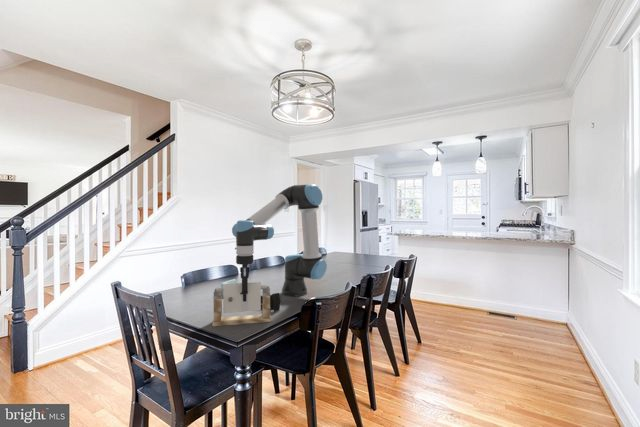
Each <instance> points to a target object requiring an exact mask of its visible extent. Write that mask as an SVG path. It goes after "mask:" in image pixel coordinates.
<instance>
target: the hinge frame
mask: <svg viewBox="0 0 640 427" xmlns="http://www.w3.org/2000/svg"><path fill="white" fill-rule="evenodd" d="M270 295H271V288H270V286H269V285H267V289H262V296H263V302H262V304H261V305H262V308H261V309H262V312H261V314H251V315H250V314H249V315H240V316H239V315H237V316H224V317H223V295H222V291H216V288H215V289H214V291H213V320H212V326H211V327H220V326H222V327H223V326H232V325H245V324H246V325H247V324H248V325H249V324H257V323H258V324H259V323H270V322H272V316H271V308H270Z"/></svg>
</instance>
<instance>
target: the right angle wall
mask: <svg viewBox="0 0 640 427" xmlns="http://www.w3.org/2000/svg"><path fill="white" fill-rule="evenodd" d="M233 283H237V280H236V278H234V279H230V280H226V281H222V282H221V283H220V288H223V286H224V284H233ZM222 296H223V291H222Z"/></svg>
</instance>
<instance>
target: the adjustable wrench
mask: <svg viewBox="0 0 640 427" xmlns="http://www.w3.org/2000/svg"><path fill="white" fill-rule="evenodd" d="M281 301H282V300H281V294H280V292H275V293H271V294H270V311H271V310H272V311H274V312H276V311H280V309H281ZM262 302H263V295H261V305H262Z"/></svg>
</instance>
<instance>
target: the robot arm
mask: <svg viewBox="0 0 640 427" xmlns="http://www.w3.org/2000/svg"><path fill="white" fill-rule="evenodd" d="M322 202H323V193H322V190H321V188H320V187H319V186H318V185H316V184H313V183H311V184H310V183H309V184H294V185H290V186H289V187H286V188H285V189H284V190H282V191H280V192H279V193H277V194H276V195H275V197H274V199H272V200H271V201H270V202H268V203H267V204H266V205H264V206H263V207H261V208H260V209H259V210H257V211H256V212H255V213H253V214H252V215H251V216H249V217H247V219H245V220H243V219H241V220H237V221H236V223H235V224H233V226H232V228H231V232H232V236H234V237H235V240H236V242H235V243H236V244H235V246H236V247H235V248H234V250H236V252H235V253H236V257H235V263H236V264H237V265H241V267H239V270H240V271H239V272H240V278H241V283H242V293H240V294H242V306H241V309H245V308H248V283H249V281H248V279H249V277H250V276H249V274H250V266H248V265H252V264H253V263H254V253H255V252H254V247H255V246H254V242H255V241H262V240H263V241H264V240H265V241H266V240H271V239H272V238H273V236H274V234H275V228H274V226H273V225H272V224H270V223H267V222H269V221H270V220H272V219H273V218H274V217H275V216H277V215H278V214H279V213H280V212H282V211H283V210H287V209H288V208H290V207H292V206H297V208H298V210H299V212H300V213H301V228H302V240H303V253H299V254H298V253H297V254H296V253H295V254H289V255H286V256H285V258H284V282H283V285H282V288H281V294H282V295H283V296H287V297H301V296H304V295H306V294H307V293H308V288H307V285H306V282H305V279H311V280H321V279H322V278H323V277H324V275H325V274H326V272H327V268H328V267H327V266H328V264H327V263H328V262H327V261H326V260H325V259H323V256H322V253H320V247H319V246H320V245H319V232H318V231H319V230H318V218H317V211H318V209H319V208H320V205H321V203H322Z"/></svg>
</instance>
